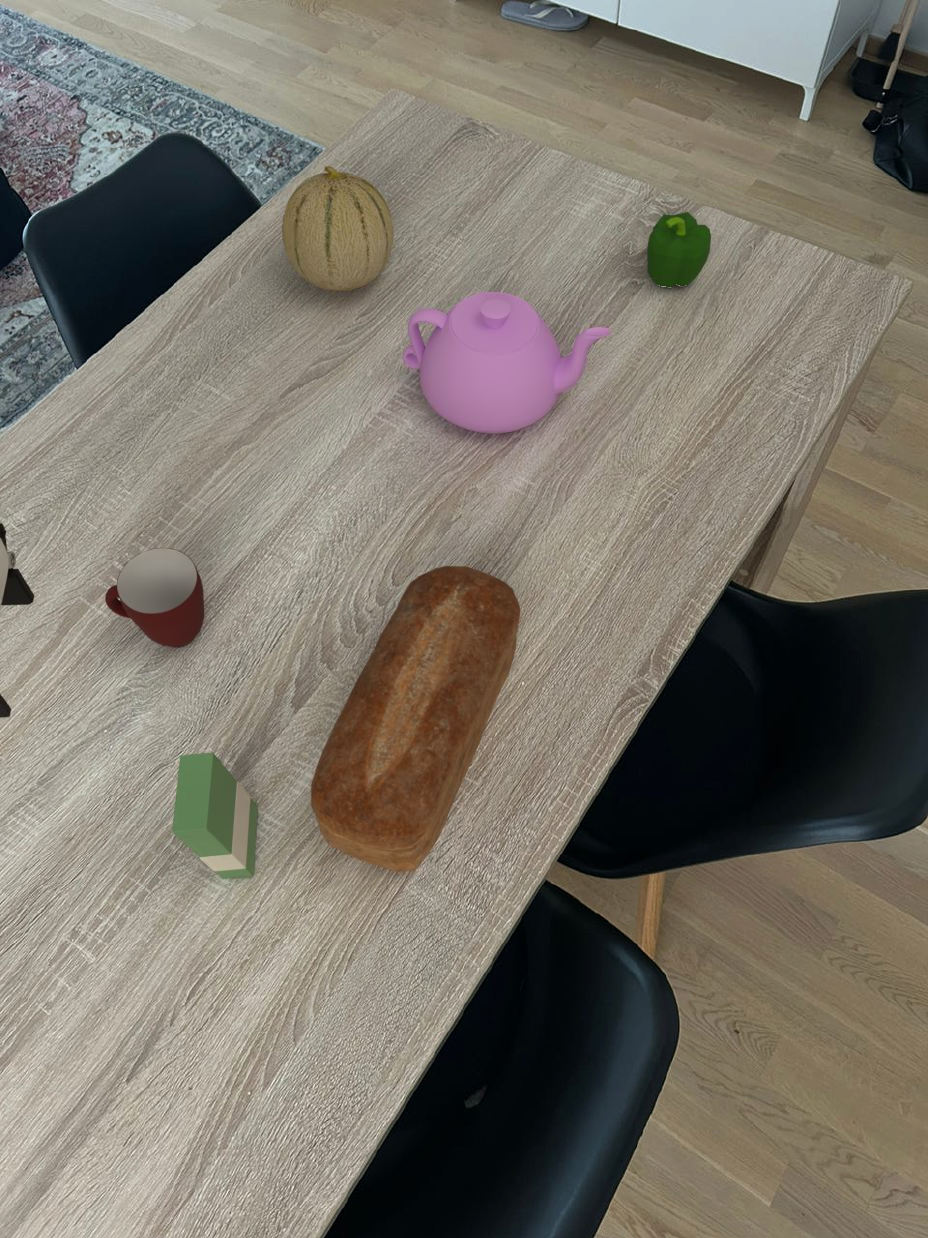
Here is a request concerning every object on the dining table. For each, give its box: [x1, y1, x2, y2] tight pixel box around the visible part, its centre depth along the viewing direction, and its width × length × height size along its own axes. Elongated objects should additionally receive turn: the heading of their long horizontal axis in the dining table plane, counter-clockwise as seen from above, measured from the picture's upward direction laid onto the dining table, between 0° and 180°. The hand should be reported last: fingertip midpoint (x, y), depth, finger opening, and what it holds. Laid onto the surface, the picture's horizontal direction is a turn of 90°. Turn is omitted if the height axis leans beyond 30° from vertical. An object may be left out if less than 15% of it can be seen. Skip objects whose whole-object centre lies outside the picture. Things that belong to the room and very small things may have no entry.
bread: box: [310, 565, 521, 873], centre depth 100 cm, size 12×31×14 cm, turn 158°
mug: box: [104, 547, 205, 649], centre depth 108 cm, size 11×8×10 cm
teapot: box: [402, 291, 612, 435], centre depth 126 cm, size 25×18×14 cm
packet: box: [171, 752, 259, 880], centre depth 94 cm, size 13×7×3 cm
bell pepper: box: [646, 211, 712, 288], centre depth 139 cm, size 8×8×10 cm
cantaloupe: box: [281, 165, 394, 292], centre depth 136 cm, size 15×15×15 cm
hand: (2, 656), depth 78 cm, fingers open, 9 cm apart
